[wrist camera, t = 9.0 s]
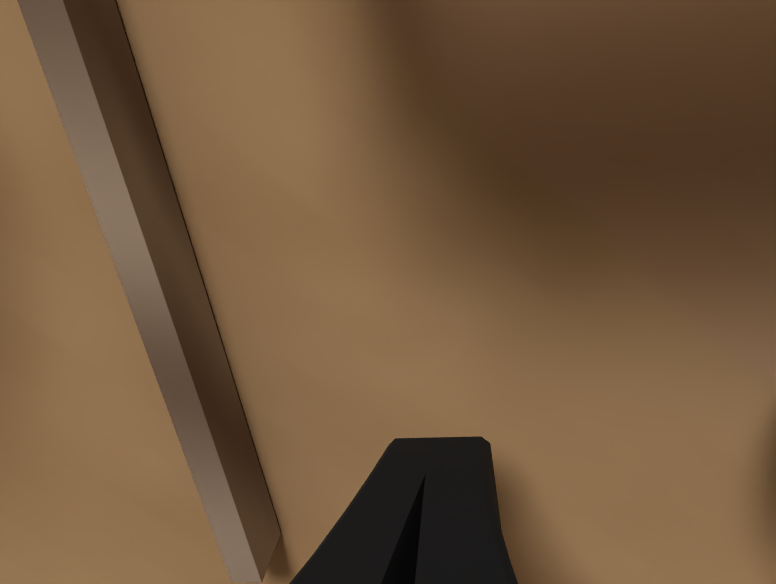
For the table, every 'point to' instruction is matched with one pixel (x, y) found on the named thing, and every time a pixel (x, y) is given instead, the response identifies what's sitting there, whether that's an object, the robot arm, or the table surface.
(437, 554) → the robot arm
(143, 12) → the table surface
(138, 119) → the track
